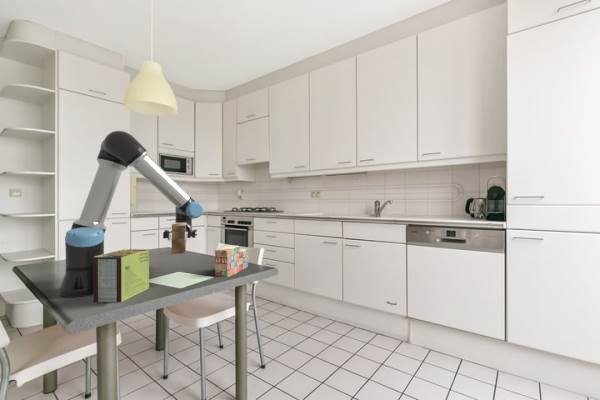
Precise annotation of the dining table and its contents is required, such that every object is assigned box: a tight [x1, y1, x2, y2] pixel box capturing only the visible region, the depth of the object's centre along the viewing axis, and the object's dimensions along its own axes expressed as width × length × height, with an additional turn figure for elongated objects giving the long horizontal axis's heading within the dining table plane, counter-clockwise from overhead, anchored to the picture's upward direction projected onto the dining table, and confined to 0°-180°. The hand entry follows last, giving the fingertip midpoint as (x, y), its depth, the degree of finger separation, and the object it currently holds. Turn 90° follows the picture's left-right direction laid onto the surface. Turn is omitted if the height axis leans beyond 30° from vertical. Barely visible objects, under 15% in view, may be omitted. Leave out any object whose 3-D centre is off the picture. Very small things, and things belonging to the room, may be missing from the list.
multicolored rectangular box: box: [214, 245, 249, 278], centre depth 140 cm, size 21×6×12 cm, turn 165°
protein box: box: [92, 248, 150, 304], centre depth 105 cm, size 10×15×16 cm
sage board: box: [149, 271, 215, 289], centre depth 125 cm, size 22×18×1 cm
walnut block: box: [170, 222, 187, 255], centre depth 119 cm, size 5×5×12 cm
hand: (177, 237), depth 115 cm, fingers closed on walnut block, 5 cm apart
